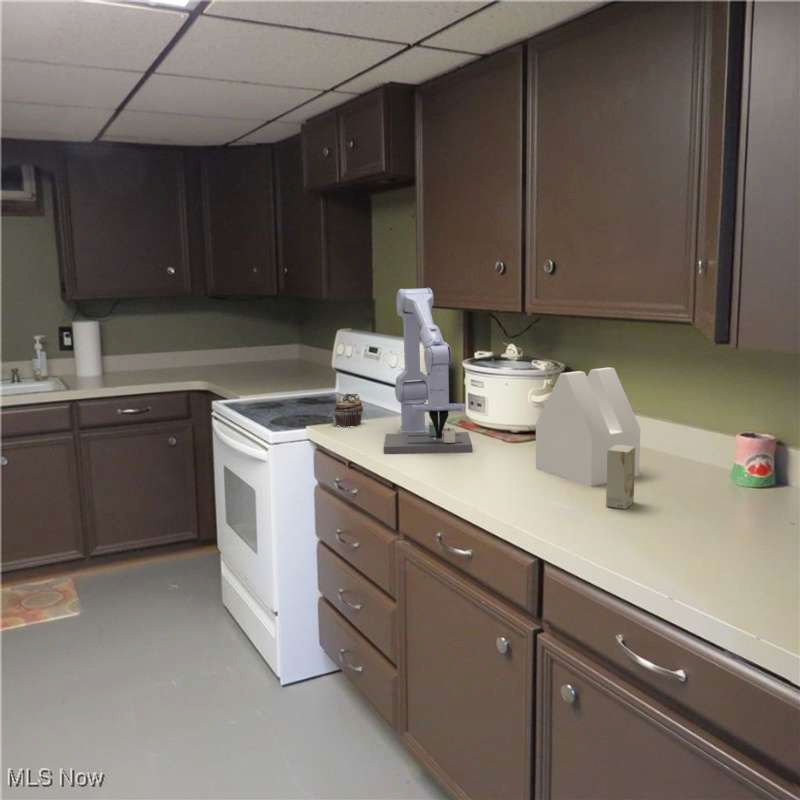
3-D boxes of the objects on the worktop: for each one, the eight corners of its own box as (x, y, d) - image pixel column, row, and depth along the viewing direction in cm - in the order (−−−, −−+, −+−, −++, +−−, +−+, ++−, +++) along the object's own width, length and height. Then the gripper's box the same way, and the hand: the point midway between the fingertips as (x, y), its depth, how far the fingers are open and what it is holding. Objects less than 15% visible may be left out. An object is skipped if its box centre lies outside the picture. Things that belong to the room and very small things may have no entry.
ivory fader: (443, 439, 215) (443, 427, 214) (454, 439, 215) (454, 427, 214) (444, 442, 211) (443, 431, 211) (455, 442, 211) (454, 430, 210)
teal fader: (429, 432, 224) (428, 421, 223) (439, 432, 224) (439, 421, 223) (429, 435, 220) (429, 424, 219) (439, 435, 220) (439, 424, 219)
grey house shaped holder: (535, 468, 192) (536, 369, 188) (581, 459, 200) (583, 363, 195) (591, 487, 176) (592, 378, 171) (638, 476, 183) (641, 372, 179)
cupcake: (338, 421, 256) (337, 391, 254) (366, 421, 254) (365, 391, 252) (330, 427, 246) (328, 396, 245) (359, 428, 244) (358, 396, 243)
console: (386, 440, 226) (385, 433, 226) (468, 438, 226) (468, 431, 225) (384, 454, 210) (383, 446, 210) (472, 452, 210) (472, 444, 210)
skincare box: (626, 510, 159) (627, 452, 157) (605, 507, 161) (606, 450, 159) (634, 501, 164) (636, 445, 162) (614, 498, 167) (615, 443, 164)
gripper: (411, 392, 207) (412, 441, 209) (465, 390, 206) (466, 440, 209) (411, 387, 214) (412, 435, 216) (464, 386, 213) (464, 434, 216)
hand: (439, 437), depth 213 cm, fingers closed
